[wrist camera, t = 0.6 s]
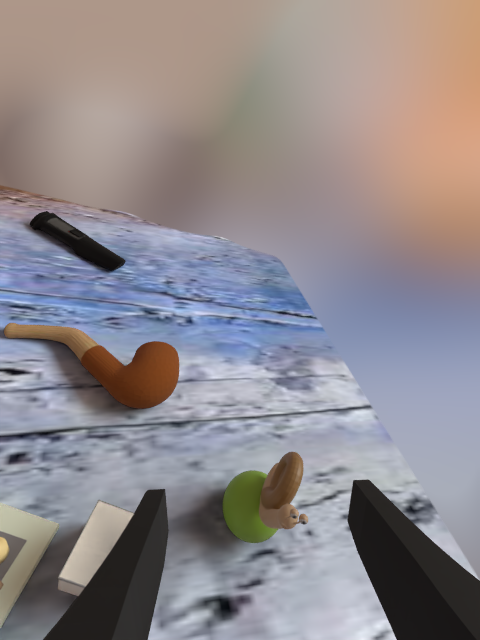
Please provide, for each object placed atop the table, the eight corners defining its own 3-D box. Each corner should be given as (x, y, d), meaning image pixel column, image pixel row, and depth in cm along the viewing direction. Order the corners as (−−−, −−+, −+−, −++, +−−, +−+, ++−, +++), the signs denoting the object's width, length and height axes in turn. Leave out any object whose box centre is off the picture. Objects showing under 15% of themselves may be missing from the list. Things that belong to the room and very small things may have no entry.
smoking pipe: (160, 427, 31) (174, 398, 27) (-31, 370, 28) (-43, 328, 24) (177, 374, 36) (191, 344, 33) (20, 321, 33) (16, 281, 29)
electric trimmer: (112, 281, 44) (115, 264, 42) (27, 227, 44) (26, 208, 42) (128, 272, 47) (131, 256, 45) (48, 222, 47) (48, 203, 45)
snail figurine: (199, 542, 25) (261, 496, 18) (226, 472, 30) (283, 414, 23) (254, 575, 25) (339, 543, 18) (272, 499, 30) (344, 450, 23)
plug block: (113, 609, 20) (126, 601, 17) (56, 590, 20) (57, 577, 17) (140, 539, 24) (155, 521, 20) (91, 521, 23) (98, 499, 20)
